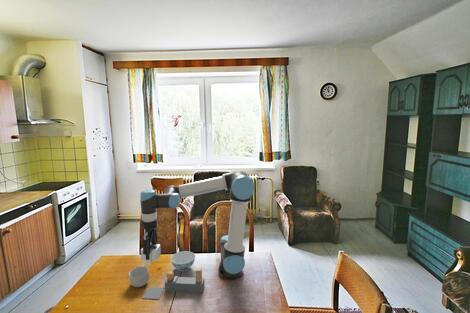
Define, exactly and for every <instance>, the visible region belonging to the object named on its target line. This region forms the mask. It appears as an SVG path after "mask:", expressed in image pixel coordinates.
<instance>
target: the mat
mask: <svg viewBox="0 0 470 313" xmlns="http://www.w3.org/2000/svg"><path fill="white" fill-rule="evenodd" d="M164 291H165V287H160V286H158V287H157V286H149V287H148V288H147V289H146V291H145V292H144V294H143V296H141V300H142V299H143V300H159V299H160V298H161V296H162V294H163V292H164Z"/></svg>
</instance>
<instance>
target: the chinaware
mask: <svg viewBox="0 0 470 313" xmlns="http://www.w3.org/2000/svg"><path fill="white" fill-rule="evenodd" d="M195 259H196V255H195V253H194V252H192V251H190V250H189V251H188V250H183V251H178V252H175V253H174V254H172V256H171V257H170V261H171V264H172V266H173V267H174V268H175V269H176V270H178V271H179V272H187V271H188V270H189V269H190V268H191V267H192V266H193V264H194V263H195V261H196V260H195Z"/></svg>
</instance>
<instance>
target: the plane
mask: <svg viewBox="0 0 470 313" xmlns="http://www.w3.org/2000/svg"><path fill="white" fill-rule="evenodd" d="M194 272H195V273H194V274H195V277H185V276H178V275H175V274H174V271H171V270H170V271H167V273H166V278H165V281H164V292H174V293H175V292H177V293H181V292H182V293H197V294H198V293H201V294H202V293H203V292H204V288H205V277H203V269H202V267H195V270H194Z"/></svg>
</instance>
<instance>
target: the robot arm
mask: <svg viewBox="0 0 470 313" xmlns="http://www.w3.org/2000/svg"><path fill="white" fill-rule="evenodd" d="M222 190H225V191H229V200H230V201H231V206H230V207H231V208H230V214H229V215H230V216H229V226H228V231H227V232H228V233H227V234H226V235H223V236H221V238H220V261H219V266H218V270H217V273H218V275H219V277H220V278H222V279H225V280H236V279H238V278H240V277H242V275H243V274H244V272H243V271H244V270H245V267H246V266H245V265H246V260H245V253H246V246H245V245H244V236H245V230H246V219H247V212H248V204H249V203H250V202H251V201H252V196H253V194H254V192H255V183H254V181H253V179H252V178H251V177H250V176H249V175H248V174H247V173H246V172H244V171H242V170H236V171H232V172H227V173H223V174H222V175H221V176H217V177H212V178H208V179H204V180H203V179H202V180H198V181H194V182H188V183H185V184H184V183H183V184H178V185H173V184H172V185H168V186H167V187H166V188H165V190H164V192H163V193H156V190H155V189H150V188H149V189H144V190H142V191H141V192H140V197H139V198H140V200H139V201H140V217H141V228H142V229H143V230H144V235H142V237H141V238H142V248H143V254H144V255H145V257H146V261H145V266H152V264H153V263H152V261H151V253H150V247H151V244H159V243H158V242H159V241H158V237H159V236H158V230H157V229H158V219H157V218H158V215H157V213H158V212H157V209H158V210H159V209H175V208H177V209H178V208H179V207H180V205H181V203H180V202H181V200H180V199H183V198H189V197H194V196H198V195H199V196H200V195H203V194H208V193H212V192H217V191H222Z"/></svg>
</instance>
